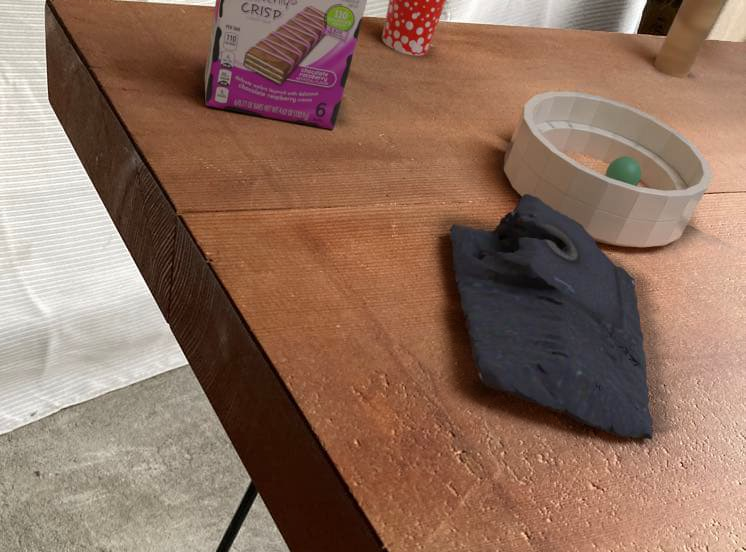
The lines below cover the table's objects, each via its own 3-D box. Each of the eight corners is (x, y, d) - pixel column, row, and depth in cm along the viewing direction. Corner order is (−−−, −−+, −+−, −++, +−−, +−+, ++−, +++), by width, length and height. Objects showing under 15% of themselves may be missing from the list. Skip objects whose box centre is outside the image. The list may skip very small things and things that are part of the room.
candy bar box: (204, 110, 80) (236, -120, 68) (202, 81, 83) (233, -142, 71) (337, 133, 83) (390, -83, 71) (330, 105, 86) (380, -106, 74)
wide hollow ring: (695, 205, 90) (726, 149, 86) (657, 280, 79) (691, 219, 75) (533, 131, 93) (556, 73, 89) (474, 193, 81) (497, 130, 77)
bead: (635, 191, 87) (650, 160, 85) (627, 204, 85) (643, 172, 83) (604, 177, 88) (619, 146, 86) (595, 189, 86) (610, 157, 83)
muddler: (686, 80, 112) (746, -43, 103) (679, 90, 110) (741, -35, 100) (654, 66, 113) (711, -57, 103) (646, 76, 110) (704, -50, 101)
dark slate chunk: (432, 398, 62) (457, 337, 58) (446, 224, 77) (466, 168, 73) (659, 459, 63) (696, 404, 60) (630, 277, 78) (658, 224, 75)
